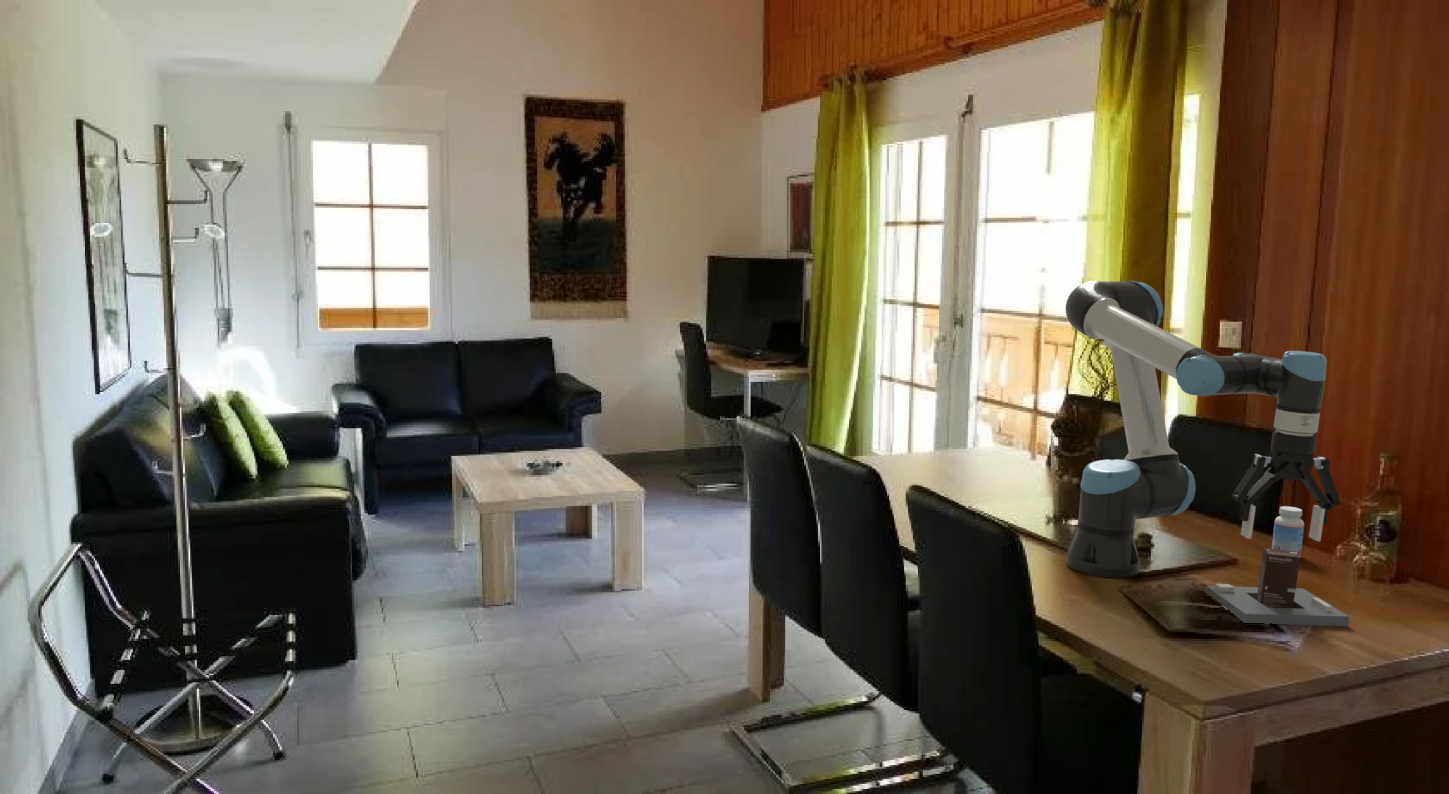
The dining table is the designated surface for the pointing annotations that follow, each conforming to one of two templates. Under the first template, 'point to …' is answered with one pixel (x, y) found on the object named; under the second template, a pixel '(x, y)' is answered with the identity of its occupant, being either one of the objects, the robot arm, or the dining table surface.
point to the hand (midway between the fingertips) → (1280, 538)
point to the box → (1278, 578)
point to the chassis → (1252, 611)
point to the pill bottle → (1288, 530)
